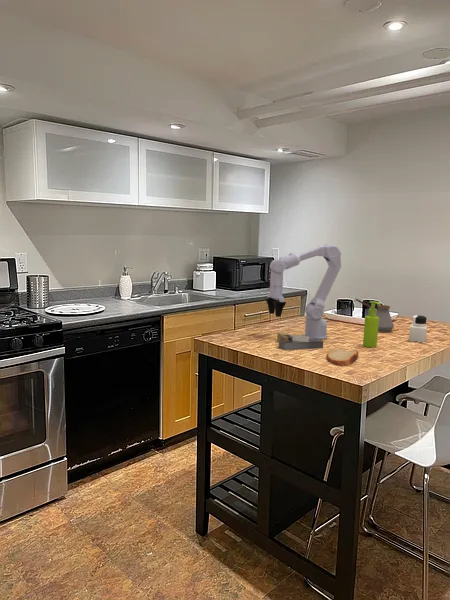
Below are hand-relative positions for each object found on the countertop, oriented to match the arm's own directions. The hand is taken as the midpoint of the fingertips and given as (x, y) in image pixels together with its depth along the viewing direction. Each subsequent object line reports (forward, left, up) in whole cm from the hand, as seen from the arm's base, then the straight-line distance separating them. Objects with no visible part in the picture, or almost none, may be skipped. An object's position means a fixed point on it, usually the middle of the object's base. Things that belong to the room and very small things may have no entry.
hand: (274, 315), depth 218 cm
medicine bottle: (-65, +19, -11) cm, 69 cm away
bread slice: (-13, +40, -11) cm, 43 cm away
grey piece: (-4, +20, -10) cm, 23 cm away
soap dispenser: (-36, +24, -11) cm, 45 cm away
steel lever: (-2, +22, -7) cm, 23 cm away
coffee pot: (-59, -8, -11) cm, 60 cm away
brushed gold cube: (0, +10, -10) cm, 15 cm away
